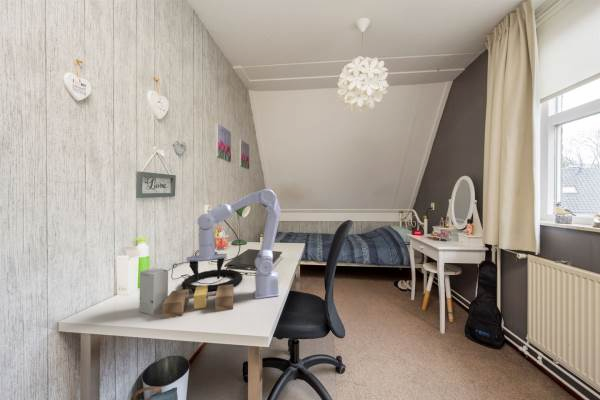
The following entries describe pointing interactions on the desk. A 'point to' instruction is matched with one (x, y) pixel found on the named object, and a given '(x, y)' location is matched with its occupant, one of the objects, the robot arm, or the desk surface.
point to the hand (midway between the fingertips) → (208, 279)
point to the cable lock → (212, 273)
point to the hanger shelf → (180, 298)
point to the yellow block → (200, 297)
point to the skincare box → (153, 290)
